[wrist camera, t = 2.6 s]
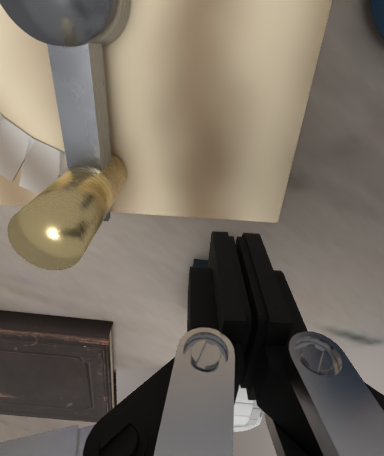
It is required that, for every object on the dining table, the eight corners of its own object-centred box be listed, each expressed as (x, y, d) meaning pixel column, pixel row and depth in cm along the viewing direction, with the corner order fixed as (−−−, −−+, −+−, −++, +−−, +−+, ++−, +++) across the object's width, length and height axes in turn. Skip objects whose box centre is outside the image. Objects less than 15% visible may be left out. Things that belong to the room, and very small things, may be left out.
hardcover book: (117, 404, 36) (112, 424, 34) (-69, 387, 36) (-85, 407, 34) (114, 316, 28) (108, 336, 26) (-127, 292, 27) (-152, 310, 25)
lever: (28, -72, 13) (-173, -225, 6) (128, -65, 13) (44, -207, 6) (76, 211, 20) (11, 292, 13) (139, 215, 20) (107, 298, 13)
